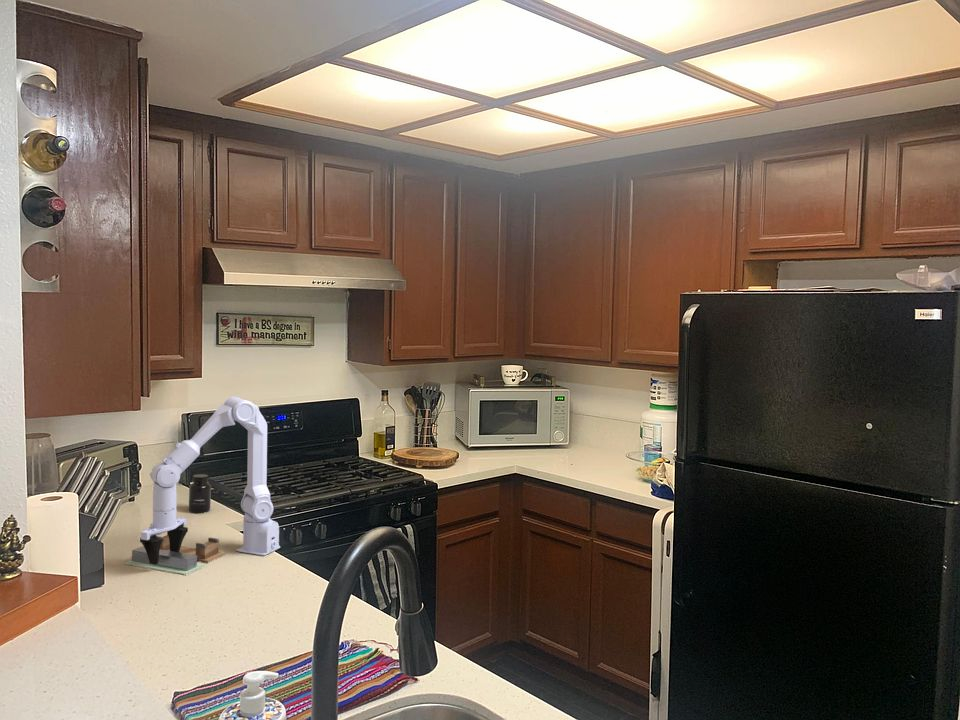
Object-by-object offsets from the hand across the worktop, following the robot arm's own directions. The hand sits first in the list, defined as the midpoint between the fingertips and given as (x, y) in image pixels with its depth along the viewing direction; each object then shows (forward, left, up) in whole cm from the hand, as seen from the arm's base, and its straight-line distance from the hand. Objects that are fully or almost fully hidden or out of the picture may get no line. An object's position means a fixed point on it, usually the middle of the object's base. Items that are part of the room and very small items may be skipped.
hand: (164, 559), depth 193 cm
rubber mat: (0, 0, -2) cm, 2 cm away
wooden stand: (+1, -9, -2) cm, 10 cm away
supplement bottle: (+26, -45, -2) cm, 52 cm away
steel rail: (0, 0, -1) cm, 1 cm away
